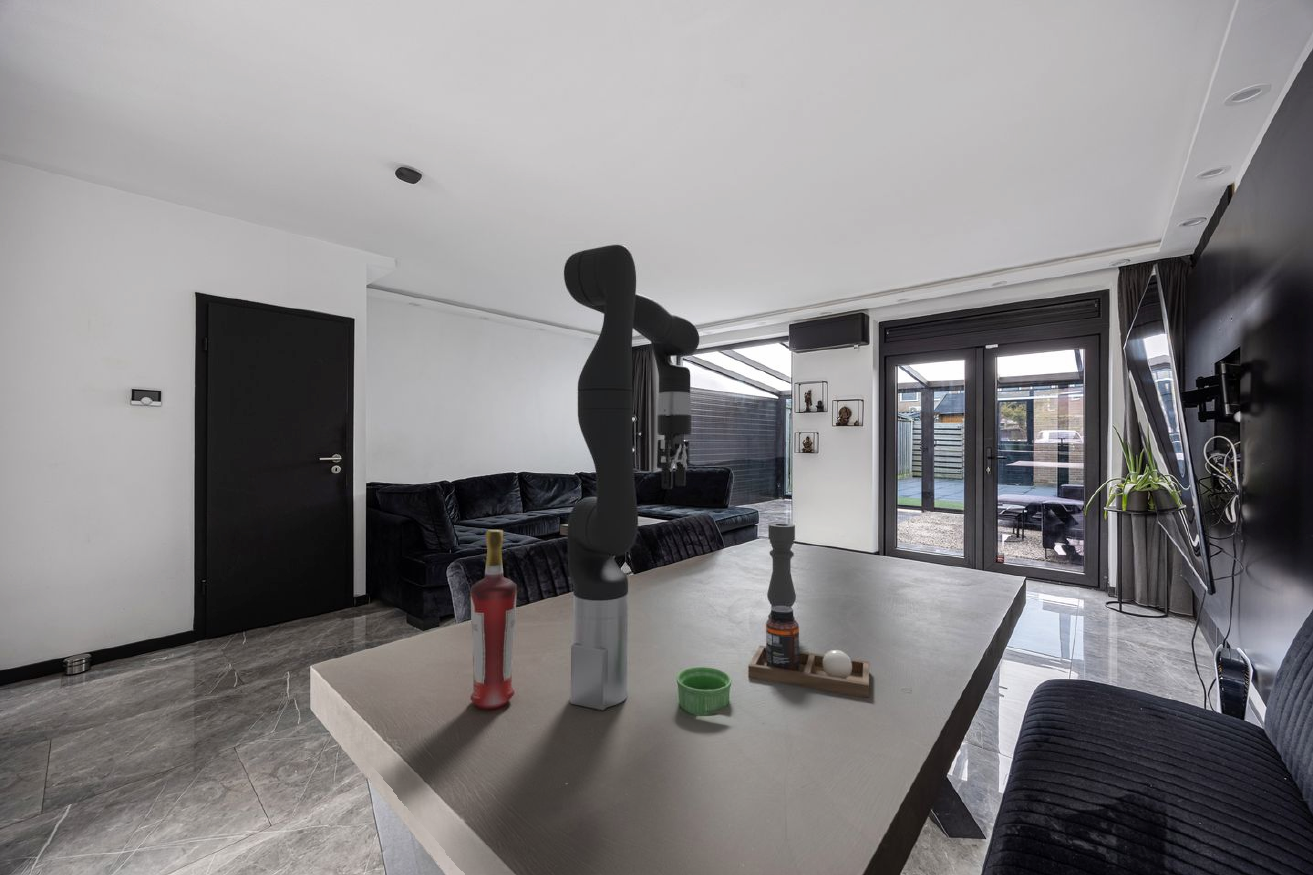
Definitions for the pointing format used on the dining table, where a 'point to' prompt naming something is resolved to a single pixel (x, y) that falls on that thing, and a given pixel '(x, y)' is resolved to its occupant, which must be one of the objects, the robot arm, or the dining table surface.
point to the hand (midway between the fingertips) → (673, 487)
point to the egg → (837, 664)
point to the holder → (812, 674)
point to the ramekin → (703, 690)
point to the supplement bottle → (782, 639)
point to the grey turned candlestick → (781, 565)
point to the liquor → (493, 629)
